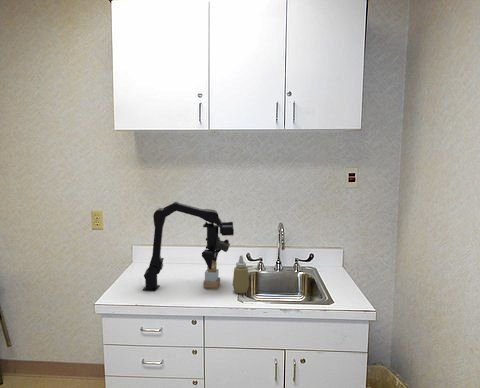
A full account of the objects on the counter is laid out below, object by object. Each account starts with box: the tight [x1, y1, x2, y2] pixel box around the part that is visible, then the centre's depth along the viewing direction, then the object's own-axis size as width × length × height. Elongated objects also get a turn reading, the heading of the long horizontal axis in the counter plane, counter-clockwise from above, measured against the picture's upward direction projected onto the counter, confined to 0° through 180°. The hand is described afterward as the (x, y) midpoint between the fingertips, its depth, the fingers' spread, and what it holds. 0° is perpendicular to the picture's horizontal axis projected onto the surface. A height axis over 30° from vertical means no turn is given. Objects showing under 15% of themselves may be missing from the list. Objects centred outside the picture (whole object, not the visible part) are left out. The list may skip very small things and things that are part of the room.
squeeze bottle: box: [232, 255, 250, 295], centre depth 175 cm, size 8×8×18 cm
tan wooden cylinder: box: [206, 261, 218, 272], centre depth 181 cm, size 5×5×4 cm
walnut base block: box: [202, 276, 221, 290], centre depth 182 cm, size 7×7×4 cm
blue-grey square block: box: [204, 268, 220, 282], centre depth 182 cm, size 6×6×4 cm
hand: (212, 266), depth 181 cm, fingers open, 9 cm apart
